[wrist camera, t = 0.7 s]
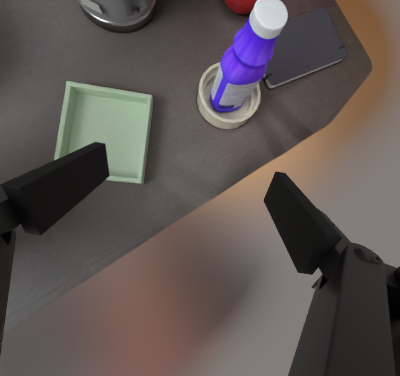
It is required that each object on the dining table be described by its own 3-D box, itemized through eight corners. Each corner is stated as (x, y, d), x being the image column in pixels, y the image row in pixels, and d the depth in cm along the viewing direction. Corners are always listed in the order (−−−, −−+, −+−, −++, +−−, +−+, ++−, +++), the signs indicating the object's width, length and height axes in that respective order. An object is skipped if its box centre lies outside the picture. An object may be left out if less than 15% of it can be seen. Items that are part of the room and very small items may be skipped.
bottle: (237, 85, 37) (291, -17, 19) (245, 110, 36) (306, 30, 19) (205, 91, 36) (232, -10, 18) (213, 117, 35) (248, 39, 18)
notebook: (319, 13, 41) (243, 39, 38) (325, 6, 40) (246, 32, 36) (342, 61, 41) (268, 90, 38) (348, 55, 39) (272, 86, 36)
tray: (75, 89, 32) (66, 80, 30) (153, 102, 34) (151, 95, 32) (61, 175, 31) (51, 173, 29) (143, 184, 33) (141, 183, 30)
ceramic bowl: (199, 69, 36) (202, 55, 33) (254, 80, 38) (262, 68, 34) (194, 125, 35) (196, 117, 32) (250, 133, 37) (258, 126, 33)
